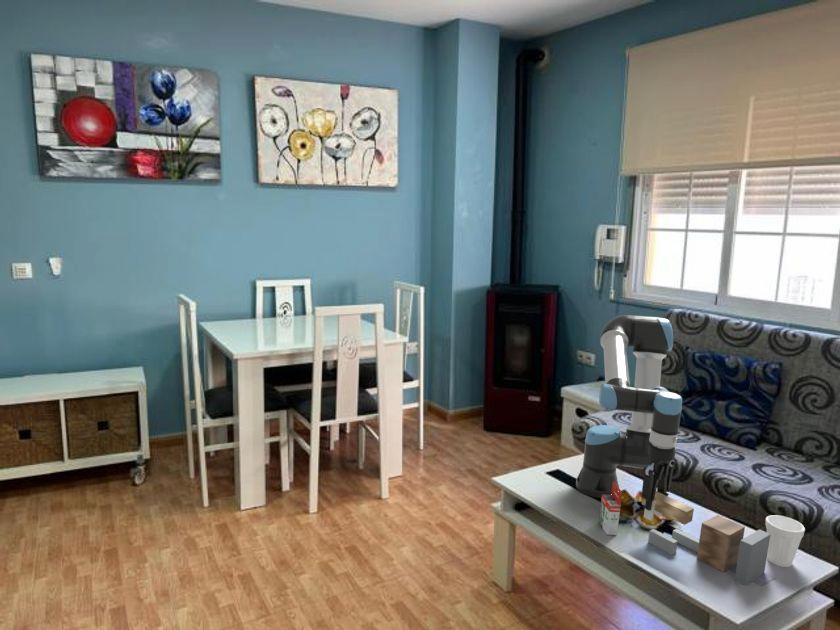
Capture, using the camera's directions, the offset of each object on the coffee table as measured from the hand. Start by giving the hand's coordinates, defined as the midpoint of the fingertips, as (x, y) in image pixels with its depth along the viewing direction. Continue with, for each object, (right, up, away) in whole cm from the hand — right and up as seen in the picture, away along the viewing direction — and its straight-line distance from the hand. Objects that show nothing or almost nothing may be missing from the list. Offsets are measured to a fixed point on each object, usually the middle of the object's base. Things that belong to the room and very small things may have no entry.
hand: (652, 516), depth 185 cm
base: (+15, -11, -6) cm, 19 cm away
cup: (+35, -12, -6) cm, 37 cm away
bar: (+3, +2, -4) cm, 5 cm away
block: (+16, -10, -8) cm, 21 cm away
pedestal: (+2, -10, -2) cm, 10 cm away
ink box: (-11, -7, +9) cm, 16 cm away
